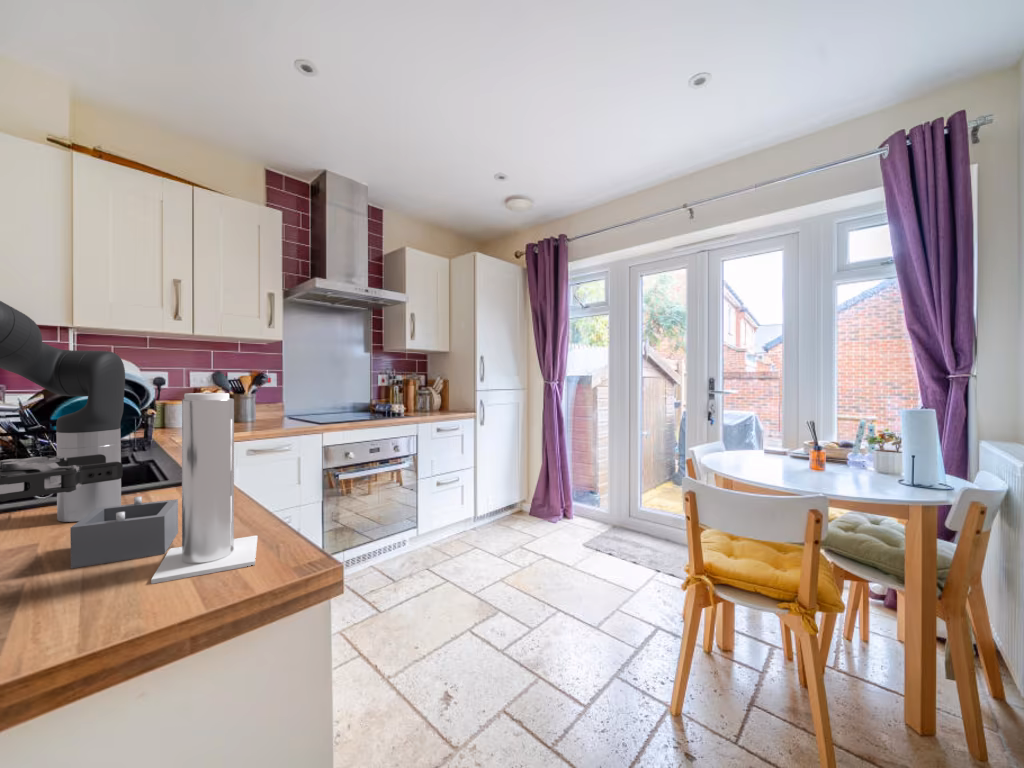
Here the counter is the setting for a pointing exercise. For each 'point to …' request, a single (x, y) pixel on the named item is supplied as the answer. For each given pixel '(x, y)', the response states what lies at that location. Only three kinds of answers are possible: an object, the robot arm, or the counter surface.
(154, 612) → the counter surface
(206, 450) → the silver metal canister
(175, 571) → the rubber mat
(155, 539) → the housing collar
